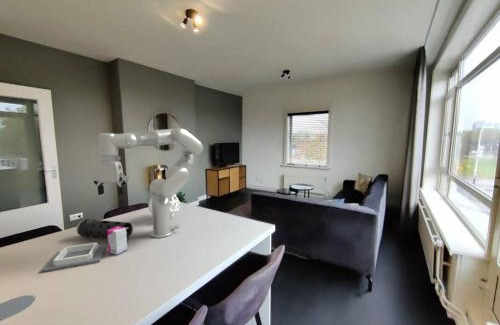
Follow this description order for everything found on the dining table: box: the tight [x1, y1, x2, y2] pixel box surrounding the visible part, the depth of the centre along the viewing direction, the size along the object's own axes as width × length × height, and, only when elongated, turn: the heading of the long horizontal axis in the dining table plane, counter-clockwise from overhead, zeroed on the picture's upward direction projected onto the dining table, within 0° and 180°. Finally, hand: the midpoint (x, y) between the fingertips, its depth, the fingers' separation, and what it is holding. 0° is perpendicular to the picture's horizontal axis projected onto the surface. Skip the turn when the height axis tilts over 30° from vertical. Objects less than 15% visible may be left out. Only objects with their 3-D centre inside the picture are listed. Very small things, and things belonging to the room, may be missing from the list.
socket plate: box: [40, 242, 108, 274], centre depth 99 cm, size 20×16×4 cm
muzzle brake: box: [75, 218, 133, 241], centre depth 119 cm, size 10×28×10 cm, turn 78°
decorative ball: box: [147, 193, 181, 218], centre depth 148 cm, size 20×20×19 cm
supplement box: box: [107, 226, 128, 256], centre depth 105 cm, size 6×6×12 cm
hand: (111, 194), depth 106 cm, fingers open, 9 cm apart
